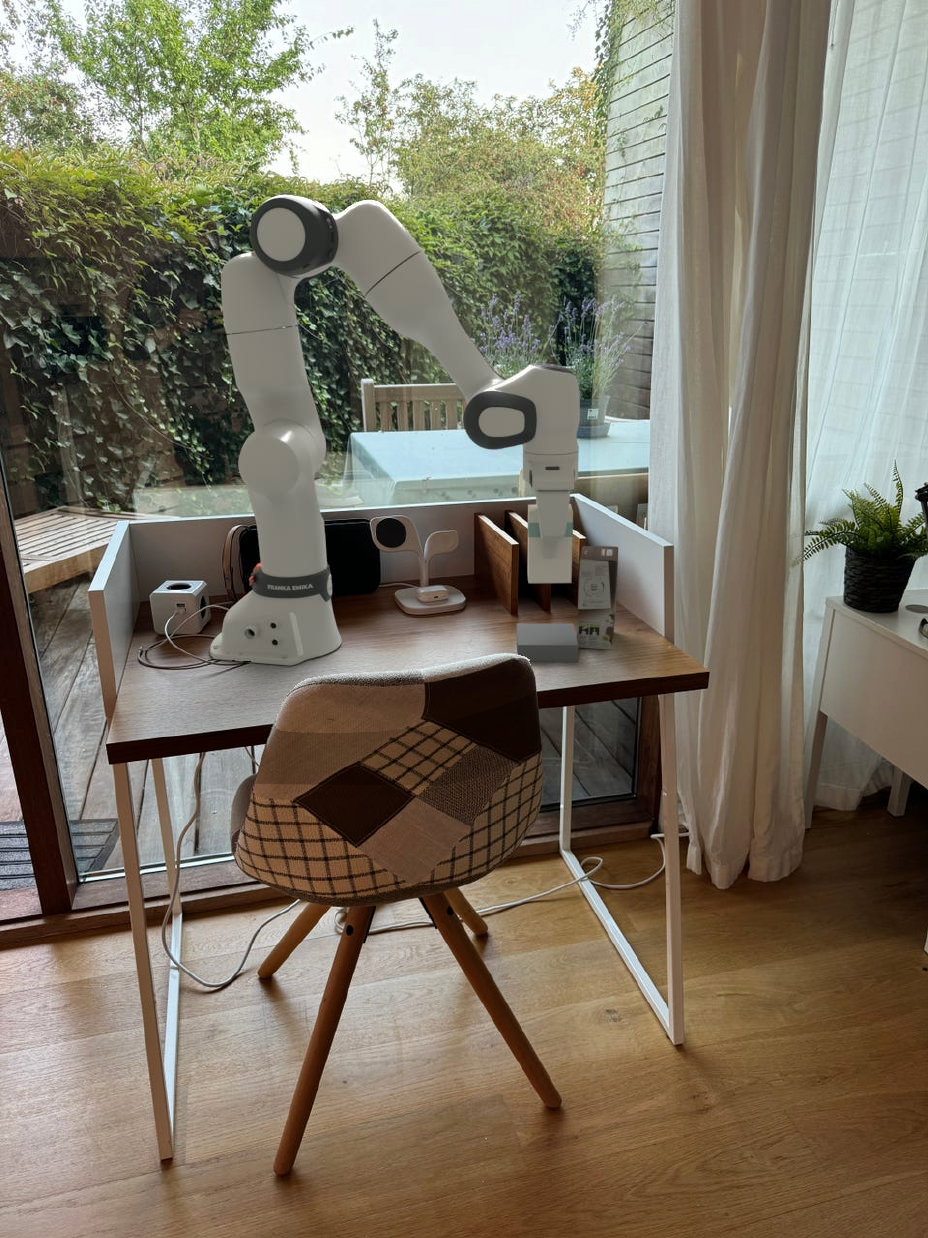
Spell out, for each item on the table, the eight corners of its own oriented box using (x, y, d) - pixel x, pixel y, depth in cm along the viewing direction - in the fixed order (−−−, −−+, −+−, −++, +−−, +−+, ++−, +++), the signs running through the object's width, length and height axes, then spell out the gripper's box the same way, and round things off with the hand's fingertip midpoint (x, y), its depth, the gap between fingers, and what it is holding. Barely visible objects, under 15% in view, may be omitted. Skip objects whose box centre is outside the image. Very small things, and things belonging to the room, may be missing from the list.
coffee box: (612, 650, 151) (617, 560, 145) (575, 648, 152) (578, 558, 146) (615, 631, 159) (619, 545, 153) (579, 629, 160) (582, 544, 155)
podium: (517, 661, 147) (517, 645, 146) (516, 639, 156) (516, 623, 155) (577, 661, 146) (578, 645, 145) (572, 639, 156) (573, 623, 155)
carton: (528, 583, 144) (528, 511, 140) (527, 573, 149) (527, 504, 145) (571, 583, 144) (573, 511, 140) (569, 573, 149) (571, 504, 145)
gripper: (528, 456, 150) (528, 535, 155) (532, 481, 131) (532, 570, 136) (565, 456, 150) (563, 535, 155) (575, 481, 131) (573, 570, 135)
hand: (549, 551), depth 145 cm, fingers closed on carton, 5 cm apart
